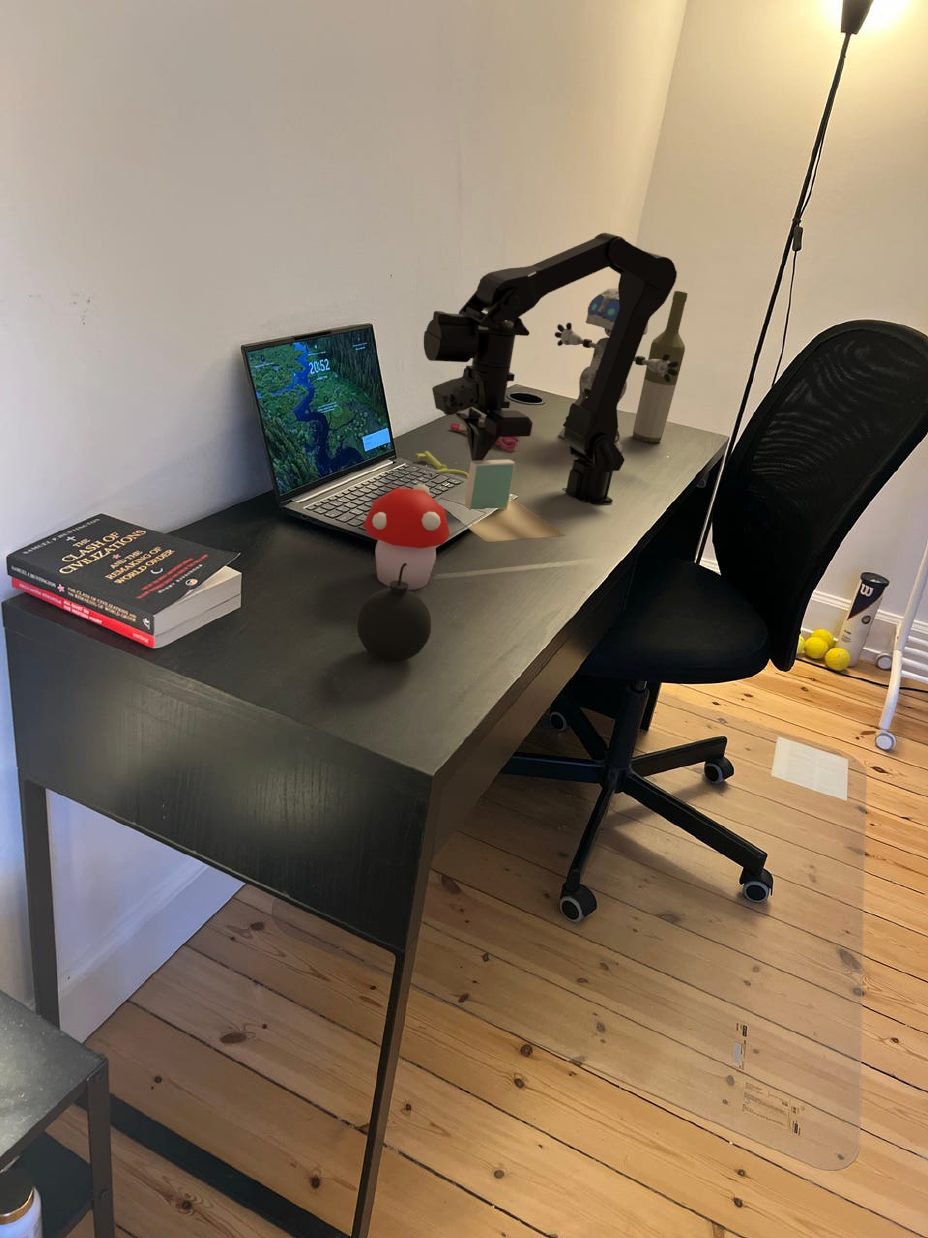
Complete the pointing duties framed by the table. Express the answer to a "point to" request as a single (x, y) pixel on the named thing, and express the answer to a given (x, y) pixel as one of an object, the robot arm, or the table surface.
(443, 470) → the key
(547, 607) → the table surface
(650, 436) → the bottle
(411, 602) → the bomb
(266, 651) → the table surface
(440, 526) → the mushroom
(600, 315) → the toy robot
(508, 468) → the tile
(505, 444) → the toy
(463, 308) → the robot arm
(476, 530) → the mat
